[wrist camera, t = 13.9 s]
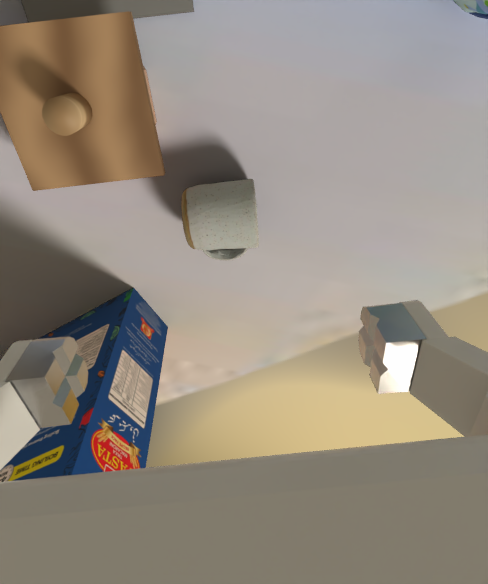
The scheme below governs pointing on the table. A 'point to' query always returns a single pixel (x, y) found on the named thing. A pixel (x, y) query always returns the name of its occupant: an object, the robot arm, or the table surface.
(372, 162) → the table surface
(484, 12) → the lunch box
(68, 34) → the lid
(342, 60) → the table surface
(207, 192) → the ceramic mug
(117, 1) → the mat
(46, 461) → the pasta box
